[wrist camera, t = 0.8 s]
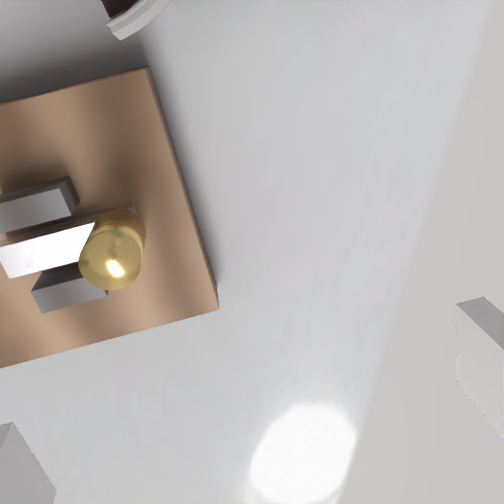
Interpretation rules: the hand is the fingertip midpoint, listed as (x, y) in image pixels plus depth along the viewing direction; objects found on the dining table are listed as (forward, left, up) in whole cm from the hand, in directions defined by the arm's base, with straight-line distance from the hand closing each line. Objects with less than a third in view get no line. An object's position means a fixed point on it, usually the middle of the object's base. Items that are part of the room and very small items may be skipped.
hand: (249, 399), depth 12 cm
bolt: (+8, 0, -17) cm, 19 cm away
